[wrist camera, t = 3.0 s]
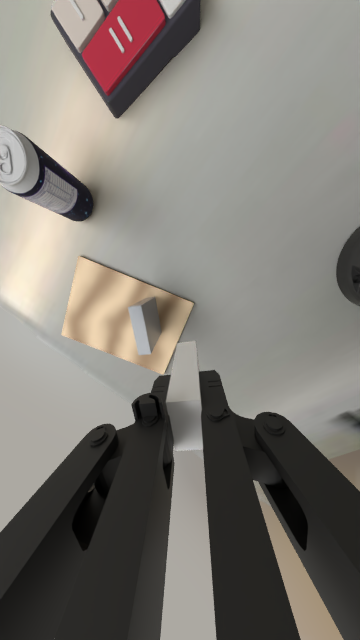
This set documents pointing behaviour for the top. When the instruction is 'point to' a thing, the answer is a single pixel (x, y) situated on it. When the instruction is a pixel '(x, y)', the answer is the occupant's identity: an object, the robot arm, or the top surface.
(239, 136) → the top surface
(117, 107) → the calculator
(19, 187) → the beverage can
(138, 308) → the slate tile
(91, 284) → the cork mat
